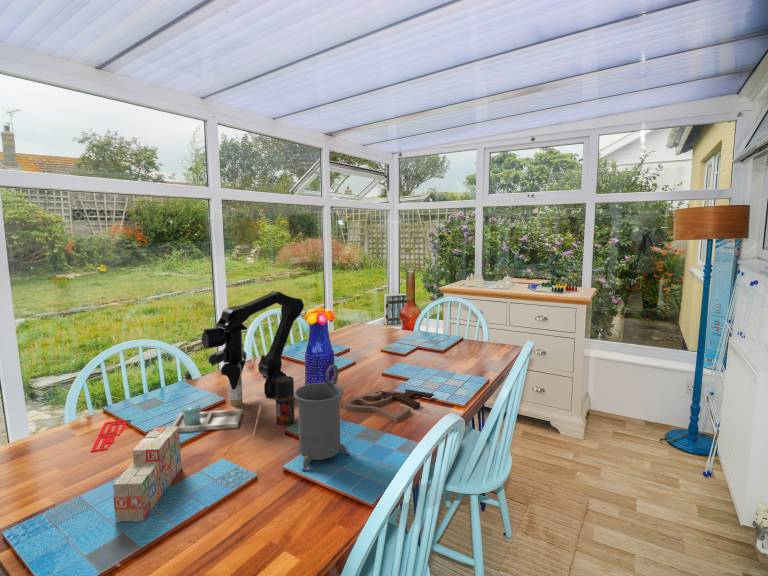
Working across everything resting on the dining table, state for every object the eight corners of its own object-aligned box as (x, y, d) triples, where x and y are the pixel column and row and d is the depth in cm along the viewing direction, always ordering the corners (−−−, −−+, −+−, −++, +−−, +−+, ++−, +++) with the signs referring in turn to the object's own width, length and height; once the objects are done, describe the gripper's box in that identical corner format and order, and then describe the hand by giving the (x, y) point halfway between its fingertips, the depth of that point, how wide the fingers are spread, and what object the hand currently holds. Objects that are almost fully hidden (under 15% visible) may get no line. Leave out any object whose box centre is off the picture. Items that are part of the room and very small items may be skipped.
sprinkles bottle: (239, 402, 159) (237, 367, 157) (245, 406, 156) (244, 370, 154) (227, 406, 156) (225, 370, 154) (233, 410, 152) (232, 373, 151)
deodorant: (297, 419, 145) (297, 377, 143) (288, 427, 140) (287, 383, 138) (282, 417, 147) (281, 375, 145) (272, 424, 142) (271, 381, 140)
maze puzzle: (104, 424, 142) (104, 422, 142) (171, 414, 150) (171, 412, 150) (90, 453, 124) (90, 451, 124) (168, 440, 132) (167, 438, 131)
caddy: (241, 415, 148) (241, 409, 148) (237, 430, 137) (237, 423, 137) (180, 420, 144) (179, 413, 144) (170, 435, 134) (169, 428, 133)
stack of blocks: (144, 522, 95) (140, 470, 93) (115, 523, 95) (110, 471, 93) (182, 468, 116) (179, 425, 114) (158, 469, 116) (154, 426, 114)
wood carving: (433, 399, 165) (383, 385, 178) (434, 393, 164) (383, 380, 178) (393, 426, 142) (339, 408, 156) (393, 420, 142) (339, 403, 155)
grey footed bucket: (326, 478, 112) (325, 386, 108) (280, 465, 118) (277, 378, 114) (359, 445, 129) (359, 365, 125) (318, 435, 135) (316, 358, 131)
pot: (203, 419, 143) (202, 403, 142) (199, 426, 138) (198, 410, 137) (185, 420, 142) (184, 404, 141) (181, 428, 137) (180, 411, 136)
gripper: (214, 337, 160) (217, 377, 162) (203, 352, 142) (206, 396, 144) (246, 336, 162) (247, 375, 164) (239, 350, 144) (241, 394, 146)
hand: (235, 385), depth 155 cm, fingers open, 7 cm apart
